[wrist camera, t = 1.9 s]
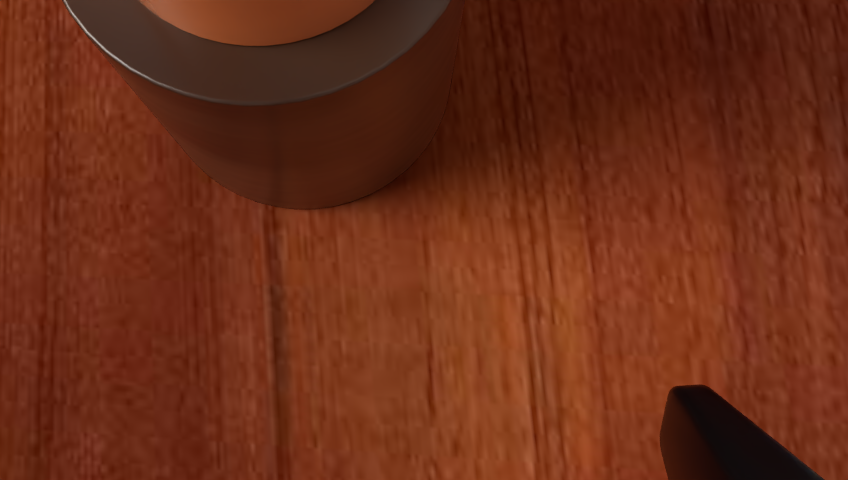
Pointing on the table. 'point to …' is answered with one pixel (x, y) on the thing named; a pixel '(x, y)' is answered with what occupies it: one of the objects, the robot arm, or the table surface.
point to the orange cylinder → (256, 18)
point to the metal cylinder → (291, 96)
